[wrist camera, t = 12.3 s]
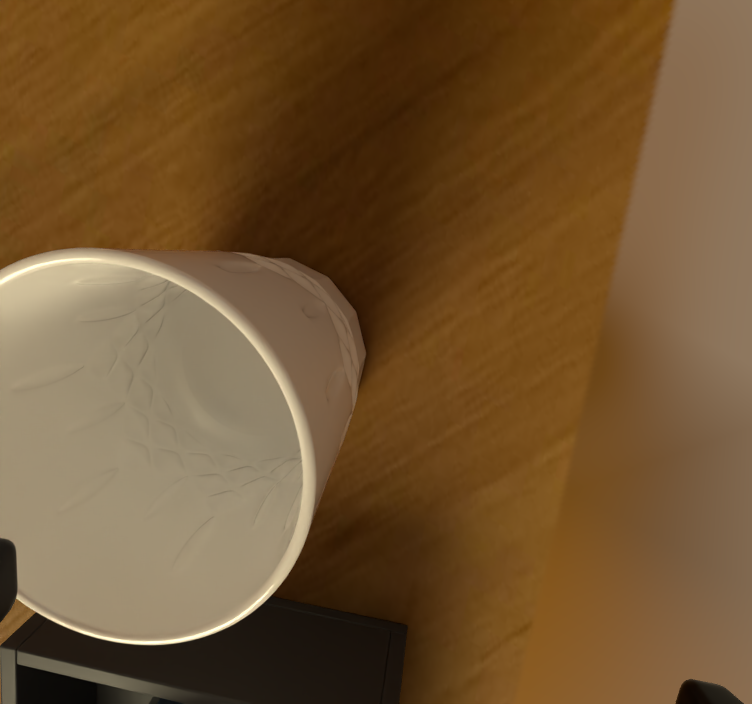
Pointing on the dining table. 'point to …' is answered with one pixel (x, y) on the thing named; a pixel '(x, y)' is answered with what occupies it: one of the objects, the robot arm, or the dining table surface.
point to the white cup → (166, 432)
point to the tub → (214, 662)
